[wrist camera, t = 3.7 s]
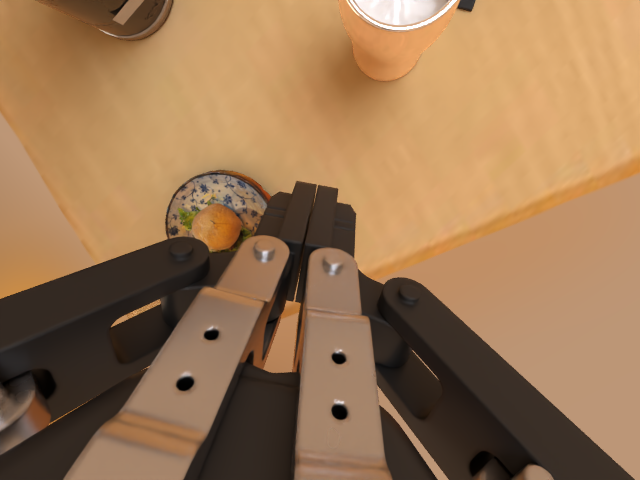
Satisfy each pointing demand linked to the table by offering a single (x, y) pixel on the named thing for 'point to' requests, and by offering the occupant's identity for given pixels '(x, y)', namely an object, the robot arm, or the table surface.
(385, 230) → the table surface
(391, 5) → the copper cup
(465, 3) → the mat
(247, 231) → the floral plate with food
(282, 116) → the table surface
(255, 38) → the table surface
